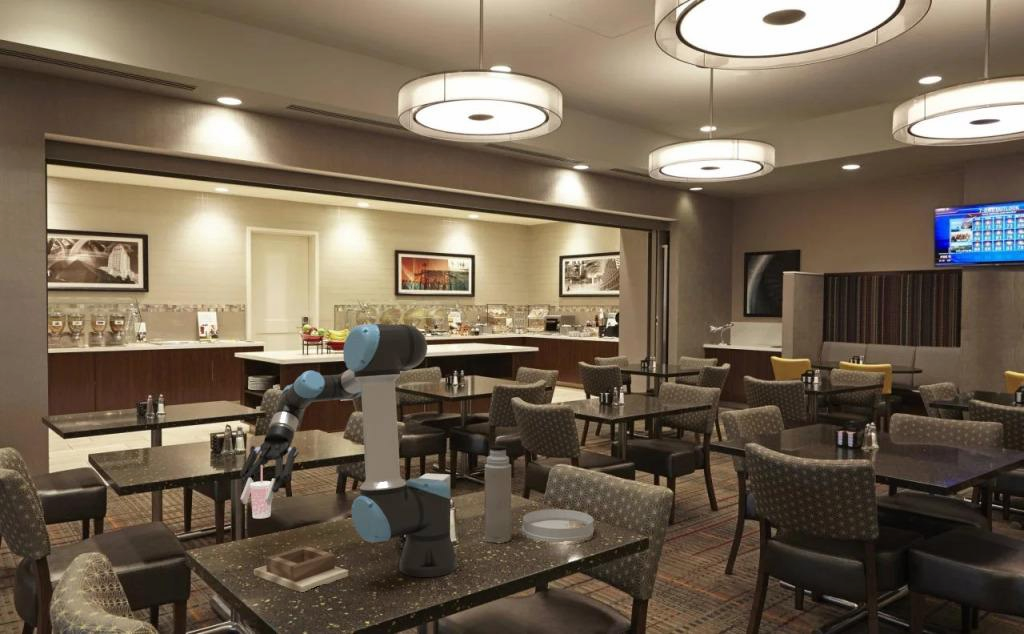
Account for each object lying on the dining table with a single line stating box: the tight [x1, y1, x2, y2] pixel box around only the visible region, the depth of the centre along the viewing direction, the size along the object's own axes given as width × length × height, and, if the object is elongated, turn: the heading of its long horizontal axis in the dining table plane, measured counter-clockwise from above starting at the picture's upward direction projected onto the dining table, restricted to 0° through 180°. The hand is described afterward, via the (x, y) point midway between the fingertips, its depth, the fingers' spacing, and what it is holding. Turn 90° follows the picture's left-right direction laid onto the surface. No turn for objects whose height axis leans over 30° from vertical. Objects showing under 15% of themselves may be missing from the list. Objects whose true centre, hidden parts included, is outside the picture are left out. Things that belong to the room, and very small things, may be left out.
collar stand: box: [253, 545, 349, 593], centre depth 181 cm, size 20×14×5 cm
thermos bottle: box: [484, 444, 512, 543], centre depth 211 cm, size 8×8×28 cm
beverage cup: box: [250, 465, 272, 519], centre depth 193 cm, size 6×6×14 cm
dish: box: [521, 508, 595, 542], centre depth 217 cm, size 22×22×5 cm
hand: (255, 501), depth 189 cm, fingers closed on beverage cup, 6 cm apart
